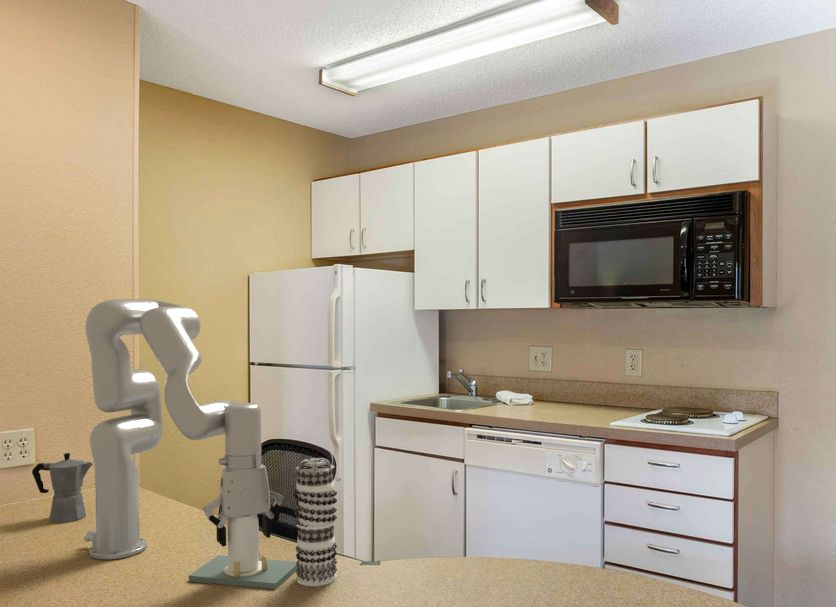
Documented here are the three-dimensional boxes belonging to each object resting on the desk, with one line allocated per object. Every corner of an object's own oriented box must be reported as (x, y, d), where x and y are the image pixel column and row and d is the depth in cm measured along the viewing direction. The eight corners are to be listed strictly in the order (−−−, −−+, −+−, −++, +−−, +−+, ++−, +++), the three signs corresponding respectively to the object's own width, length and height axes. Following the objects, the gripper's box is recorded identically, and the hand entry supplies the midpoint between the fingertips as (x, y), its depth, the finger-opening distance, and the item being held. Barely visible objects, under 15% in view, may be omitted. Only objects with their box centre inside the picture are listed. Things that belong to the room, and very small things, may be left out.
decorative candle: (286, 584, 144) (284, 463, 144) (308, 567, 153) (306, 454, 153) (325, 589, 141) (323, 466, 141) (345, 572, 150) (343, 456, 149)
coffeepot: (97, 511, 198) (96, 448, 198) (89, 521, 189) (88, 455, 189) (38, 515, 194) (37, 451, 194) (27, 526, 185) (26, 458, 185)
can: (251, 574, 146) (250, 517, 146) (222, 572, 147) (221, 516, 147) (264, 563, 152) (263, 508, 152) (236, 561, 153) (235, 507, 153)
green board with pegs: (188, 581, 146) (188, 561, 146) (218, 560, 158) (218, 542, 158) (275, 589, 141) (275, 568, 141) (299, 567, 153) (299, 548, 153)
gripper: (207, 470, 142) (208, 553, 142) (288, 459, 151) (289, 537, 151) (198, 463, 148) (199, 543, 148) (276, 453, 157) (277, 528, 157)
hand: (244, 540), depth 150 cm, fingers open, 9 cm apart
